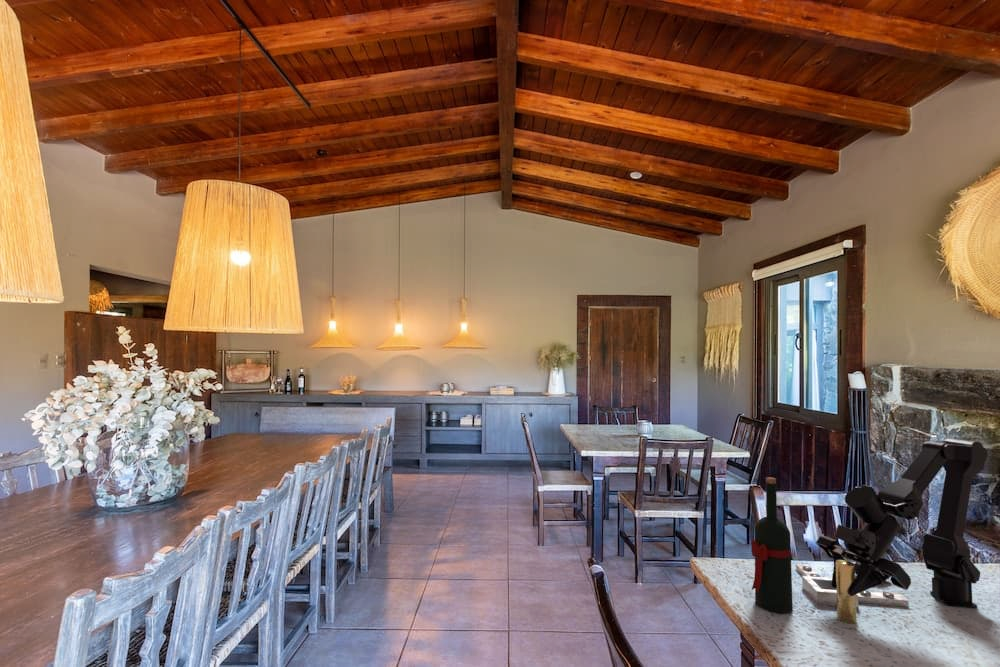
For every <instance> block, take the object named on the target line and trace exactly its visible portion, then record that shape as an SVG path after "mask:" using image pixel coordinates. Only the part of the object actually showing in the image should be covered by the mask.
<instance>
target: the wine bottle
mask: <svg viewBox="0 0 1000 667" xmlns="http://www.w3.org/2000/svg"><path fill="white" fill-rule="evenodd" d="M765 494H766V495H765V496H766V497H765V499H766V502H765V504H766V508H765V509H766V516H763V517H762V518H759V519H758V520H757V522H755V525H754V527H753V528H754V539H752V540H751V543H750V544H751V545H750V547H751V555H752V557H754V578H753V584H752V586H751V591H753V590H754V594H755V598H754V600H755V605H756V606H758V608H760V609H761V610H764V611H766V612H768V613H772V614H778V615H788V614H791V613H792V612H793V611H794V610H793V609H794V607H793V606H794V605H793V604H794V603H793V582H792V581H793V578H792V577H793V576H792V575H793V574H792V547H791V546H792V545H791V532H790V529H789V527H788V526H787V525H786V522H784V520H783V521H782V520H781V519H780V518H778V510H777V508H778V507H777V506H778V502H777V478H775V477H771V476H769V477H765Z"/></svg>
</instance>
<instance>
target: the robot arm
mask: <svg viewBox="0 0 1000 667" xmlns="http://www.w3.org/2000/svg"><path fill="white" fill-rule="evenodd" d="M921 449H922V450H920V452H919V453H918V455H917V456H916V457H915V459H914V460H913V461H912V462H911V464H909V466H908V468H907V469H906V470H904V473H902V475H901V476H900V478H898V480H896V481H893V482H890V483H887V484H886V485H885V486H883V488H881V489H880V490H879V491H878V493H876V491H875V490H874V488H873V487H872V486H870V485H866V484H862V485H861V487H857V488H854V489H851V490H850V491H847V493H846V494H845V497H844V502H845V504H846V505H847V507H848V508H850V510H851V511H852V512H853V513H854V515H855V516H856V517H857V519H858V520H860V521H861V522H863V523H865V524H864V525H863V526H862V528H858V527H857V528H855V529H853V528H851V527H847V526H844V525H841V524H837V527H836V529H835V533H834V536H833V538H831V537H829V536H826V535H820V536H819V537H818V539H817V540H816V541H815V544H816V545H817V546H818V547H819V549H820V550H821V551H822V552H823V553H824V554H825V556H826V557H828V558H829V559H831V560H833V570H832V577H831V578H832V584H831V585H832V586H833V587H834V588H836V560H845V561H849V562H854V563H858V564H860V572H859V574H858V575H857V574H856V576H855V580H854V581H853V583H852V585H851V586H850V588H849V591H848V594H849V595H850V596H853V595H856V594H858V593H860V592H862V591H865V590H866V591H868V590H870V589H872V588H875V587H878V586H880V585H884V586H887V585H888V582H887V580H888V579H887V578H888V576H889V577H890V578H889V579H890V582H891V584H892V585H893V586H895V587H898V588H900V589H902V590H905V591H907V590H908V589H909V588H910V586H911V584H912V579H911V576H910V575H909V574H908V573H907V572H906V571H905V569H904V568H903V567H902V566H901V564H899V563H897V562H895V561H892V560H889V559H886V558H883V557H884V555H885V554H886V555H891V553H892V550H891V548H890V546H891V544H893V541H894V540H895V538H896V536H897V534H899V535H902V536H906V534H907V532H906V529H905V527H904V523H903V522H901V521H898V519H896V517H897V518H900V519H904V520H908V521H909V520H910V521H912V520H914V519H916V518H917V516H918V515H919V513H920V511H921V509H922V507H923V505H924V503H923V502H924V501H923V494H924V492H925V491H926V489H927V488H928V487H929V486H930V484H931V483H932V481H933V480H934V479H935V478H936V476H937V475H938V474H939V472H940V471H941V469H942V468H943V469H944V472H945V476H944V480H943V481H944V482H943V486H942V493H941V498H940V505H939V511H938V516H937V523H936V528H935V529H934V530H933V531H932V532H931V533H927V532H926V533H925V534H924V535H923V542H922V546H921V548H920V549H921V555H922V558H923V560H924V564H925V567H926V569H927V570H930V571H932V572H933V577H931V591H929V594H930V595H932V596H934V597H935V598H936V599H937V600H939V601H940V602H942V603H943V604H944V605H947V606H952V607H965V608H974V609H975V608H977V609H978V604H976V603H974V602H973V587H972V586H973V585H972V584H977V582H979V581H980V577H981V571H980V570H979V569H978V568H977V566H976V565H975V564H974V563H973V561H972V560H971V550H970V547H969V545H968V544H967V542H966V540H965V537H964V533H965V528H966V522H967V516H968V515H967V514H968V509H969V508H968V507H969V502H970V497H971V496H970V495H971V490H972V485H973V479H974V478H975V477H976V476H977V475H978V474H979V473H980V472H982V471H983V470H984V469H985V468H984V467H985V463H986V460H987V458H988V456H989V454H988V450H987V449H986V447H984V445H983V444H982V443H981V442H980V441H973V440H967V439H959V438H958V439H957V438H953V437H952V438H950V437H947V438H946V439H944V440H942V441H940V440H939V441H938V440H933V441H932V440H929V441H928V440H927V441H924V443H923V444H922V446H921ZM834 538H835V539H834ZM837 539H839V540H841V541H842V542H843V545H842V544H840V542H839V541H838V540H837ZM843 546H845V547H846V548H848V549H846V548H844V547H843Z"/></svg>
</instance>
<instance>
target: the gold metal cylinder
mask: <svg viewBox="0 0 1000 667" xmlns="http://www.w3.org/2000/svg"><path fill="white" fill-rule="evenodd" d="M855 578H856V573H855V562H854V563H853V561H850V562H849V561H845V560H836V592H837V606H836V618H837V620H838V621H840V622H842V623H844V624H849V625H855V624H857V622H858V621H857V608H856V595H853V596H850V595H849V594H848V591H849V588H850V586H851V585H852V583H853V581H854V580H855Z"/></svg>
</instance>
